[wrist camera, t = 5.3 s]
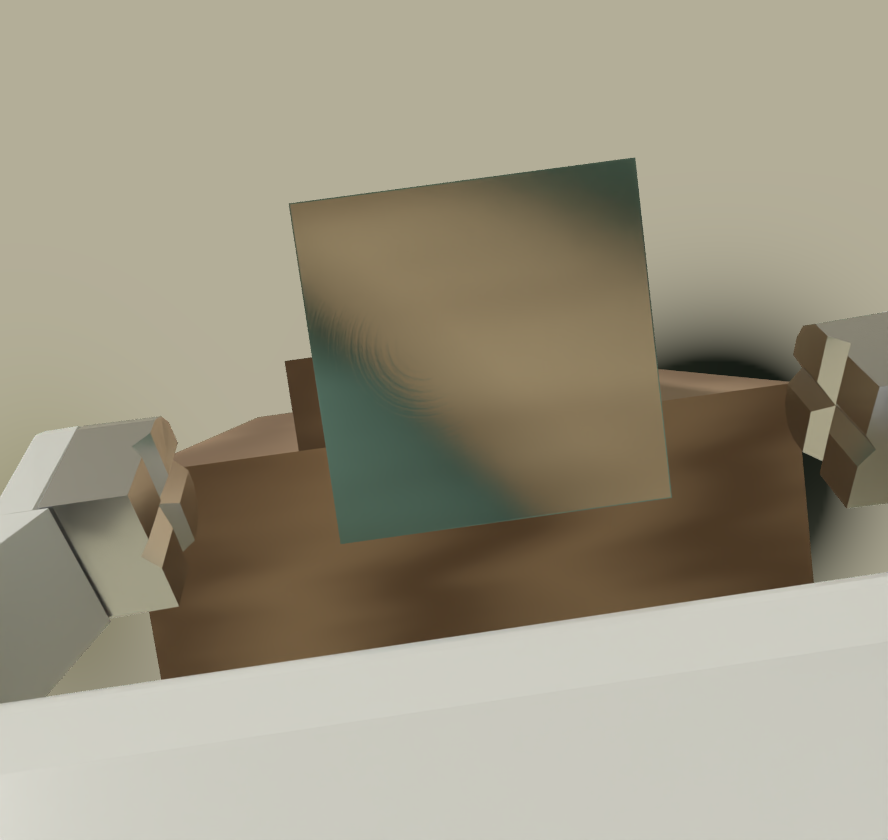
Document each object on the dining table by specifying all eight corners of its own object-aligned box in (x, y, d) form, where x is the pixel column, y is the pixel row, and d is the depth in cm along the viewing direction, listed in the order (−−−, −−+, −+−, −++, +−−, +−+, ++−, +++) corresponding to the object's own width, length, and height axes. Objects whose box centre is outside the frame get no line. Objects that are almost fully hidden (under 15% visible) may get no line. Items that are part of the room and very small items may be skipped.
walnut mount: (694, 958, 34) (622, 316, 31) (886, 1389, 20) (787, 292, 17) (353, 1009, 33) (250, 367, 31) (304, 1482, 20) (108, 385, 17)
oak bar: (400, 396, 32) (388, 311, 32) (485, 384, 32) (474, 299, 32) (340, 544, 8) (288, 203, 8) (671, 497, 8) (635, 157, 8)
